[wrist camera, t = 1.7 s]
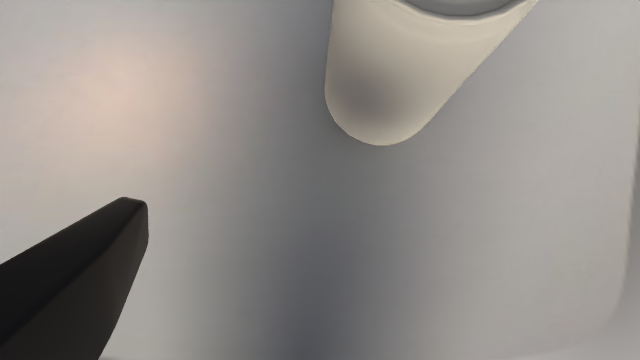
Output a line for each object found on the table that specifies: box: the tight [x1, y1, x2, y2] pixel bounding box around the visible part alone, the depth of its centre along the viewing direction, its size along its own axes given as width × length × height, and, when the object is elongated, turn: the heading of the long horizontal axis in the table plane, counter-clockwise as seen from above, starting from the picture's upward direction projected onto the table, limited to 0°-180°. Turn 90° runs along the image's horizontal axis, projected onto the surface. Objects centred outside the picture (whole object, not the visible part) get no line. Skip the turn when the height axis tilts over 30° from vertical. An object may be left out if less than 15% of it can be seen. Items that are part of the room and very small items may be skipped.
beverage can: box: [324, 0, 538, 145], centre depth 17 cm, size 5×5×12 cm
